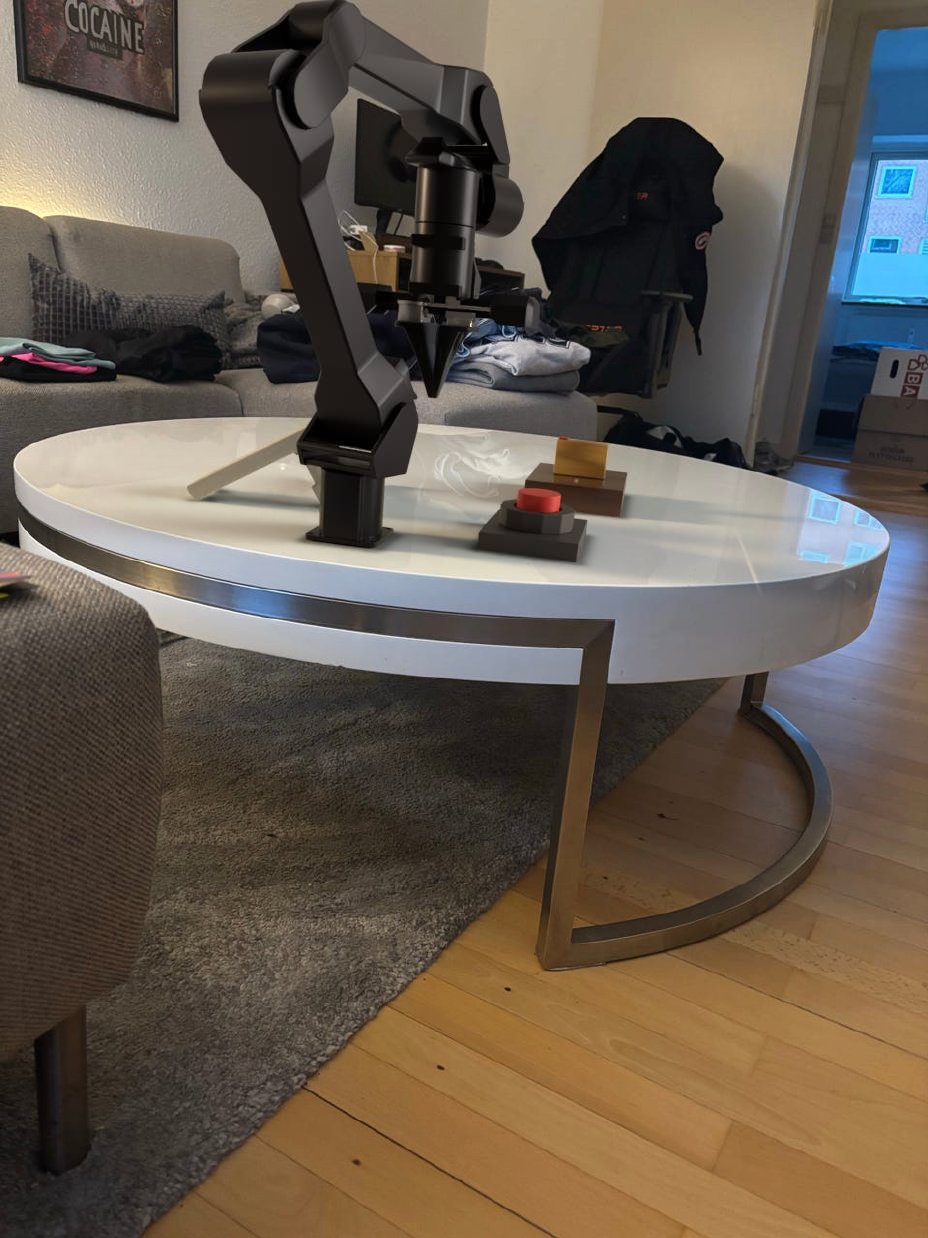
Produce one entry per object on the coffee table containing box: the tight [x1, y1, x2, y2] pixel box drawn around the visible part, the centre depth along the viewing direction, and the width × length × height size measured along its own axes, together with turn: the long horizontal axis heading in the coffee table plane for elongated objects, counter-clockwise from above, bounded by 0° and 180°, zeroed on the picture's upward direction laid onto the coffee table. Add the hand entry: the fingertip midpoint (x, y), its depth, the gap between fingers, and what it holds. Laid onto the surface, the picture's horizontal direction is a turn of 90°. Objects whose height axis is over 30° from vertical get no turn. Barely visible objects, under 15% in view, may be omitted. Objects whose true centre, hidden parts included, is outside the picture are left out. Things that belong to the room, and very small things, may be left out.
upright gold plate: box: [553, 435, 610, 479], centre depth 108 cm, size 6×2×4 cm, turn 78°
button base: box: [476, 498, 588, 563], centre depth 87 cm, size 11×9×4 cm
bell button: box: [516, 488, 561, 512], centre depth 86 cm, size 4×4×2 cm
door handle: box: [186, 423, 321, 503], centre depth 99 cm, size 18×8×20 cm
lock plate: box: [523, 462, 628, 518], centre depth 109 cm, size 14×11×3 cm
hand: (433, 397), depth 90 cm, fingers closed
